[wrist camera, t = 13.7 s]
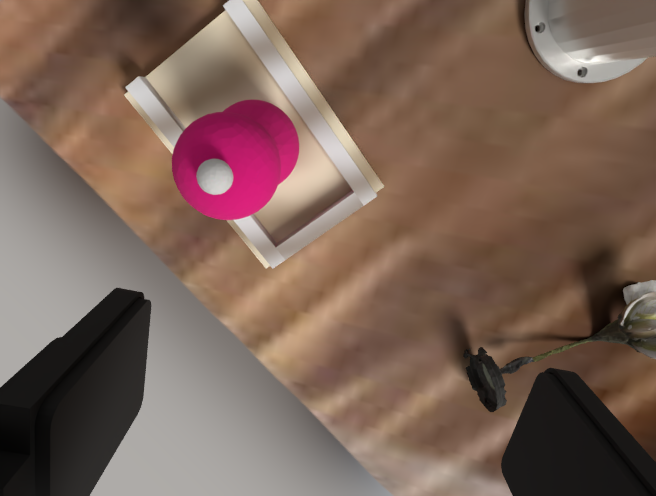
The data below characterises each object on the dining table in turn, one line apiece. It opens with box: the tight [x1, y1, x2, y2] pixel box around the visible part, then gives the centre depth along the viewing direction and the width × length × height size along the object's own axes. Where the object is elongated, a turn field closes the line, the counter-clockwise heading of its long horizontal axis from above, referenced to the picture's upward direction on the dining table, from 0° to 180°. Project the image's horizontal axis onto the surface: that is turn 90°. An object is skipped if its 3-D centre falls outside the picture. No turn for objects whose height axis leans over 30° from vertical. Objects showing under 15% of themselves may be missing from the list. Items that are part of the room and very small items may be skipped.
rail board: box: [124, 0, 384, 269], centre depth 40 cm, size 20×14×2 cm
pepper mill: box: [172, 99, 299, 220], centre depth 31 cm, size 7×7×20 cm
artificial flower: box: [463, 280, 656, 412], centre depth 45 cm, size 9×22×10 cm, turn 106°
